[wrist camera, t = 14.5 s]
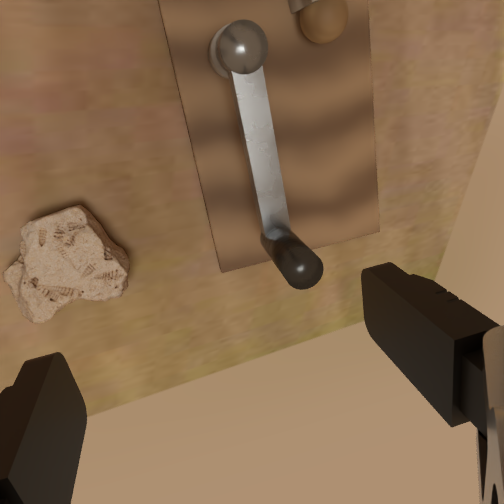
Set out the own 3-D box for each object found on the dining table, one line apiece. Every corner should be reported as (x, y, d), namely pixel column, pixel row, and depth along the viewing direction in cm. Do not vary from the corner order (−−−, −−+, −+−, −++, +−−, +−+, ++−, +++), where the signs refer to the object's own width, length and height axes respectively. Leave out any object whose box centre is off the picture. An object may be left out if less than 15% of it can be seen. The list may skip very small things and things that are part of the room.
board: (153, -18, 33) (153, -41, 27) (358, -50, 35) (398, -77, 29) (220, 268, 43) (230, 294, 37) (374, 228, 45) (405, 247, 40)
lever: (210, 29, 31) (229, 8, 23) (255, 20, 31) (289, -4, 23) (259, 254, 38) (285, 295, 31) (294, 244, 39) (329, 282, 31)
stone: (138, 275, 41) (136, 297, 37) (25, 308, 40) (8, 335, 36) (108, 193, 38) (101, 206, 33) (-18, 226, 36) (-42, 244, 32)
